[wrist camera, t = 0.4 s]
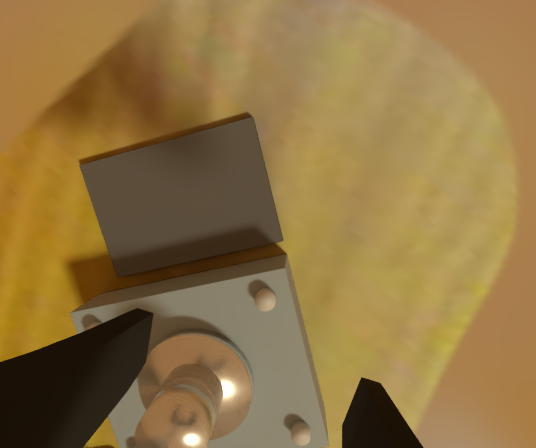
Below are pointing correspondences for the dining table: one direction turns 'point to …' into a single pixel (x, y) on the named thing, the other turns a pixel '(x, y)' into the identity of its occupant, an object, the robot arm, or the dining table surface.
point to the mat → (184, 199)
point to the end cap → (193, 390)
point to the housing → (239, 332)
